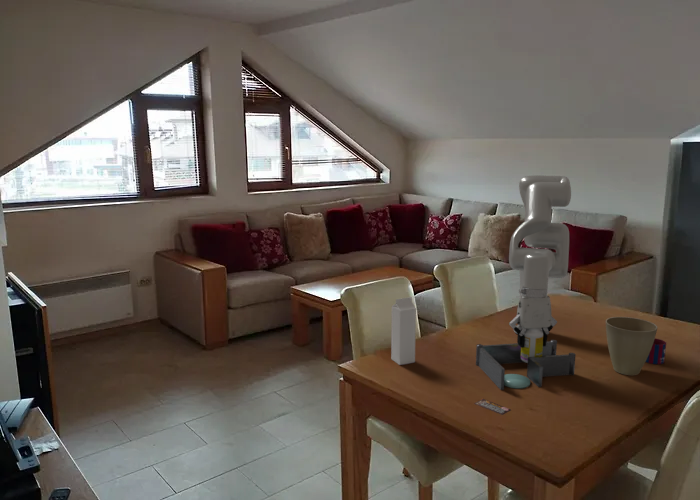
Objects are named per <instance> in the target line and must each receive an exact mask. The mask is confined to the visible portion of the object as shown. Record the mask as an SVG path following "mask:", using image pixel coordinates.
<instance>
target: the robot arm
mask: <svg viewBox="0 0 700 500" xmlns="http://www.w3.org/2000/svg"><path fill="white" fill-rule="evenodd" d="M518 183H519V184H518V190H519V194H520V198H521V201H522V203H523V206H524V212H525V213H524V222H522V223H520V225H519V226H518V227H516V229H515V231H514V232H513V233H512V235H511V237H510V241H509V251H508V252H509V253H508V264H509V266H510V268H511V269H512V270H514V271H519V289H518V293H519V296H518V297H519V299H518V304H517V310H516V316H515V317H514V318H513V319H512V320H511V321H510V322H509V323H508V324H509V326H510V327H511V329H512V330H513V332H514V333H515V334H517V340H516V342H517V343H518V345H519V346H520V347H522V348H524V344H525V336H524V335H523V334H524V332H525V330H526V329H535V328H540V330H541V331H542V332H543V346H546V342H547V341H548V335H549V334H550V331H552V329H554V327H555V326H556V324H557V323H558V321H557V320H556V319H555V318H554V316H552V303H551V297H550V296H549V295H548V289H549V288H548V287H549V278H551V279H553V278H554V279H562V278H564V277H566V276H567V274H568V270H569V255H570V254H569V252H570V231H569V227H568V226H567V225H566V224H564V223H560V222H552V207H556V208H557V207H558V208H564V207H568V206H569V205H570V202H571V199H572V187H571V182H570V179H569V178H568V176H565V175H542V174H541V175H534V174H533V175H526V176H523V177H521V178H520V180H519V182H518ZM523 239H524V240H523ZM522 240H523V241H524V243H525V245H526V246H527V247H519V243H520V242H521V241H522ZM551 249H552V250H555V251H552V250H551ZM516 324H517V325H516Z"/></svg>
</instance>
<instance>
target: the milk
mask: <svg viewBox="0 0 700 500" xmlns="http://www.w3.org/2000/svg"><path fill="white" fill-rule="evenodd" d="M412 300H413V299H412V297H411V296H409V297H402V298H396V299H395V303H394V304H392V305H391V344H390V345H391V348H390V349H391V351H390V354H391V355H390V357H391V361H394V363H396V364H397V365H399V366H401V365H402V366H403V365H408V364H413V363H416V322H417V321H416V318H417V316H416V315H417V314H416V313H417V312H416V311H417V310H416V306H415V305H414V303H413V301H412Z"/></svg>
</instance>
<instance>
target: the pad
mask: <svg viewBox="0 0 700 500" xmlns="http://www.w3.org/2000/svg"><path fill="white" fill-rule="evenodd" d="M530 385H531V380H530V379H529V378H528V377H527V376H526V375H522V374H518V373H506V374H505V376H504V387H508V388H509V389H510V388H511V389H525V388H528V387H530Z"/></svg>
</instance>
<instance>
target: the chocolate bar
mask: <svg viewBox="0 0 700 500" xmlns="http://www.w3.org/2000/svg"><path fill="white" fill-rule="evenodd" d="M473 405H476V406H479V407H482V408H483V409H486V410H489V411H491V412H494V413H496V414H499V415H500V416H503V415H506V414H508V412H511V411H512V409H510V408H508V407H505V406H502V405H501V404H497V403H495V402H492V401H490V400H488V399H484V398H481V399H480V400H478V401H476V402H473Z"/></svg>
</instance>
